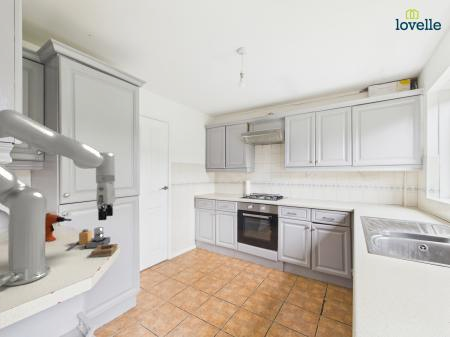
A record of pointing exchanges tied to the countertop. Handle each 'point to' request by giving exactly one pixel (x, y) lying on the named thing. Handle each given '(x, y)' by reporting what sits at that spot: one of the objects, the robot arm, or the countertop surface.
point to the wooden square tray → (104, 250)
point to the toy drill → (49, 228)
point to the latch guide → (76, 245)
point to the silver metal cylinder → (98, 234)
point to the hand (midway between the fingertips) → (105, 217)
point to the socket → (97, 243)
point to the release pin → (84, 237)
